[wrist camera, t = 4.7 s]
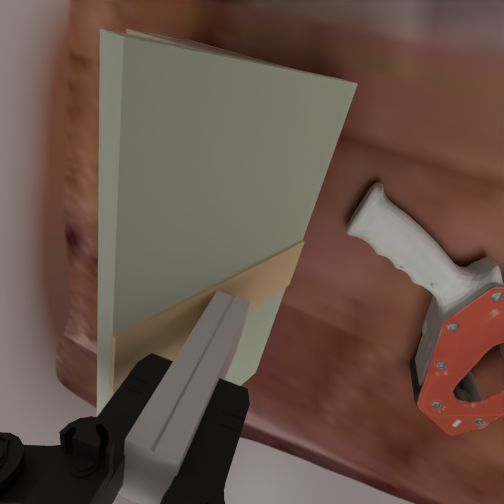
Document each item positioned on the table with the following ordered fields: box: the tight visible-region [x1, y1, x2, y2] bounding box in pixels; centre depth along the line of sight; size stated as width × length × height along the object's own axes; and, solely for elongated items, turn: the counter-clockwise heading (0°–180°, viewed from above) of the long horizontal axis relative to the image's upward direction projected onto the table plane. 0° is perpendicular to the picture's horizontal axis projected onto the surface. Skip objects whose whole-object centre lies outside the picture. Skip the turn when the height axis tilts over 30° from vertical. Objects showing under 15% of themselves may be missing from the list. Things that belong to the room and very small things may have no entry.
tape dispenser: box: [346, 183, 504, 436], centre depth 26 cm, size 18×5×20 cm
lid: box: [97, 29, 358, 495], centre depth 16 cm, size 19×11×1 cm
